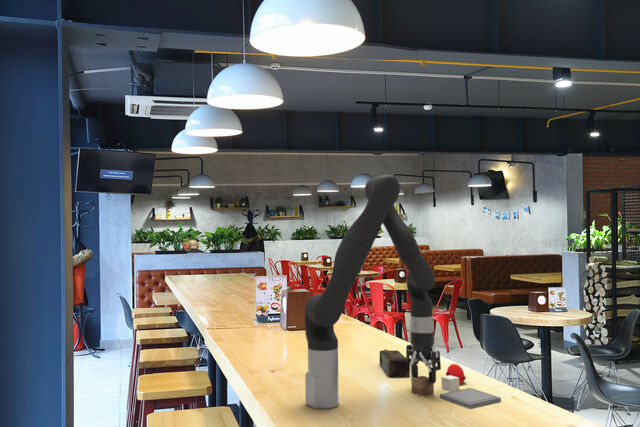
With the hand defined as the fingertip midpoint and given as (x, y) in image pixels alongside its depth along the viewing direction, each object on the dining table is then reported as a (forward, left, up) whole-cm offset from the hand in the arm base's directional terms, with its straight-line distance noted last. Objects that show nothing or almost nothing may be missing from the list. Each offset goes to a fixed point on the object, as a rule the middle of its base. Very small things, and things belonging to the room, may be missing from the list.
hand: (423, 380), depth 195 cm
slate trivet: (+8, -13, -4) cm, 16 cm away
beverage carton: (+10, +28, -5) cm, 30 cm away
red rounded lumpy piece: (+18, +4, -5) cm, 19 cm away
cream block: (+11, -1, -4) cm, 12 cm away
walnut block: (0, 0, -4) cm, 4 cm away
